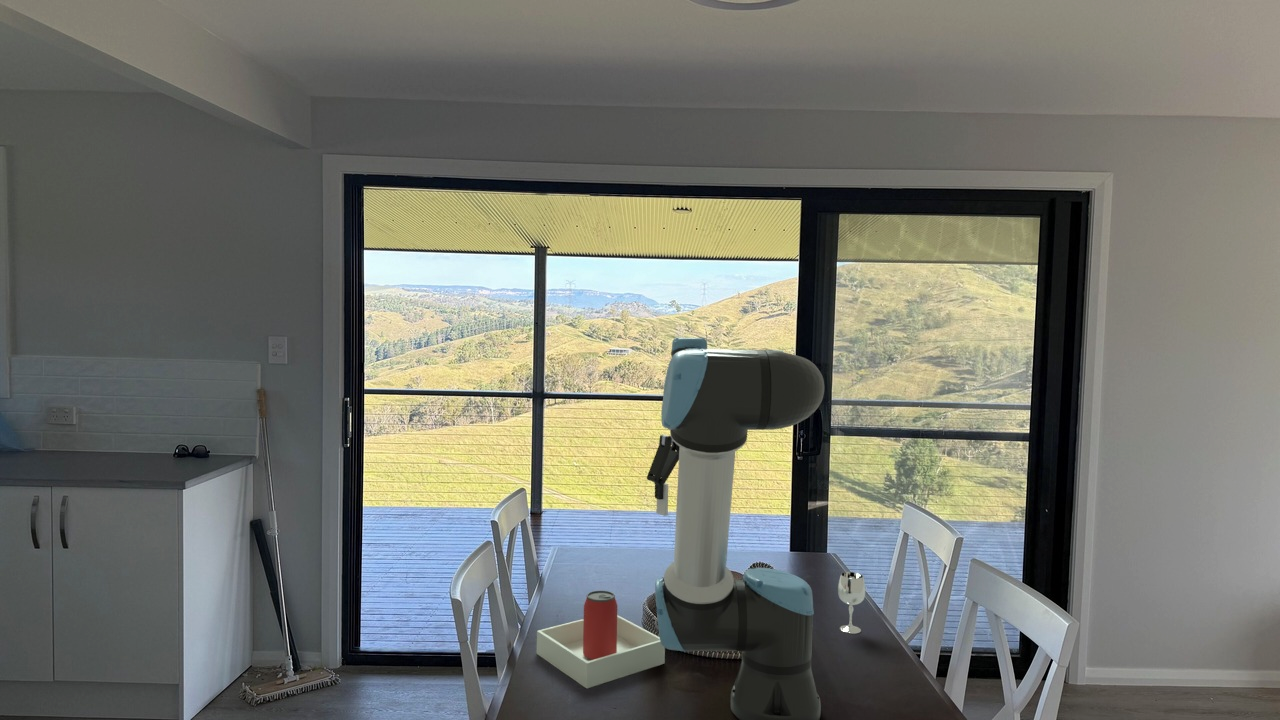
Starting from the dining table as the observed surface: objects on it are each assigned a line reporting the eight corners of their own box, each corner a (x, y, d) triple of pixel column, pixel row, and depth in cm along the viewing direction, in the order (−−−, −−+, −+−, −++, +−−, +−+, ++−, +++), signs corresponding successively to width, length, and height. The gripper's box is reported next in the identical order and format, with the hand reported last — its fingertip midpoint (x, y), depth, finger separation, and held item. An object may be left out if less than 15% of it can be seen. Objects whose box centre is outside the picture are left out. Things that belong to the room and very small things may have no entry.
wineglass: (833, 631, 167) (835, 576, 166) (840, 622, 172) (841, 569, 171) (860, 636, 164) (862, 581, 164) (866, 627, 169) (868, 573, 169)
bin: (664, 663, 149) (665, 640, 149) (586, 688, 138) (587, 663, 138) (611, 633, 164) (611, 611, 163) (536, 653, 153) (536, 630, 153)
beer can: (612, 664, 147) (613, 602, 147) (579, 660, 148) (579, 599, 148) (619, 650, 154) (620, 590, 153) (587, 647, 155) (588, 588, 154)
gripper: (717, 405, 174) (715, 498, 175) (631, 412, 158) (629, 514, 159) (741, 408, 168) (739, 505, 169) (655, 415, 152) (653, 522, 153)
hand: (686, 509), depth 164 cm, fingers open, 13 cm apart
